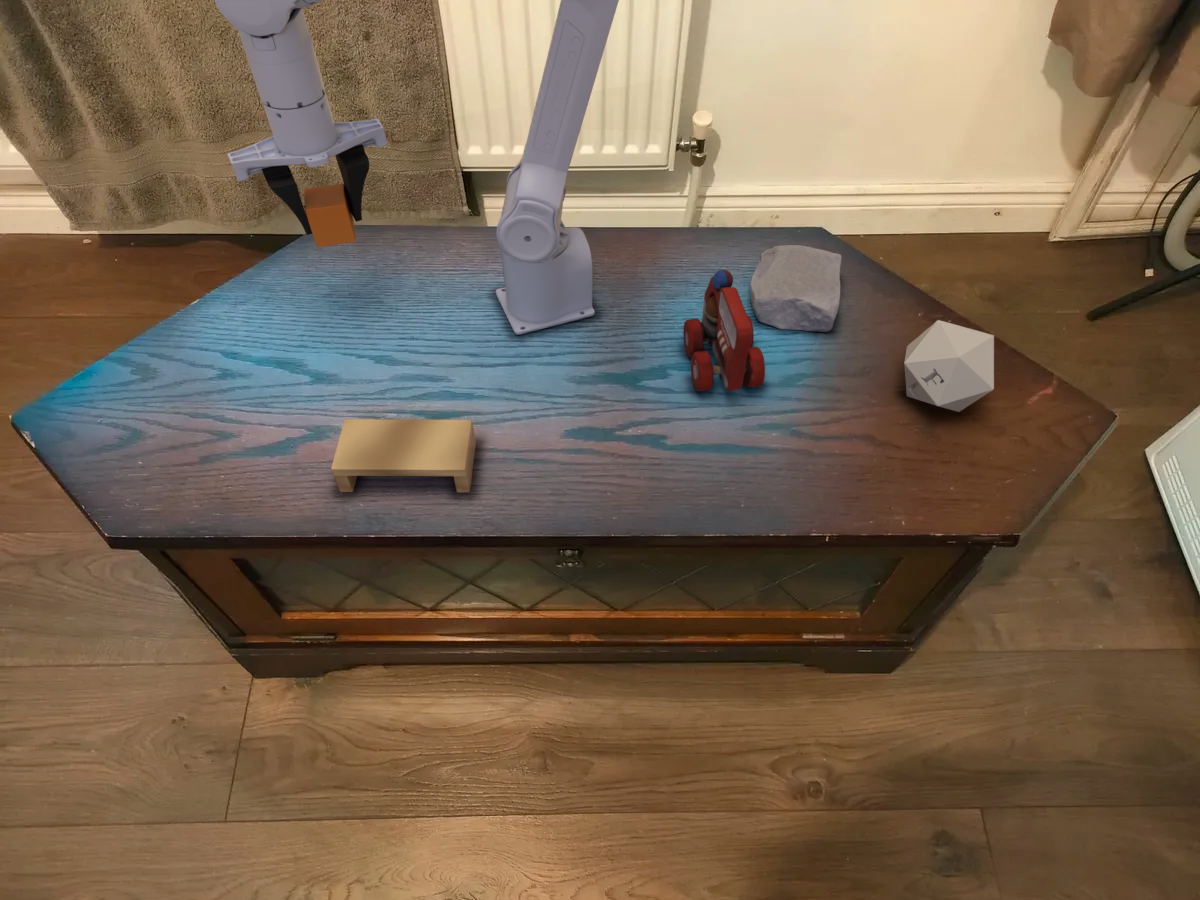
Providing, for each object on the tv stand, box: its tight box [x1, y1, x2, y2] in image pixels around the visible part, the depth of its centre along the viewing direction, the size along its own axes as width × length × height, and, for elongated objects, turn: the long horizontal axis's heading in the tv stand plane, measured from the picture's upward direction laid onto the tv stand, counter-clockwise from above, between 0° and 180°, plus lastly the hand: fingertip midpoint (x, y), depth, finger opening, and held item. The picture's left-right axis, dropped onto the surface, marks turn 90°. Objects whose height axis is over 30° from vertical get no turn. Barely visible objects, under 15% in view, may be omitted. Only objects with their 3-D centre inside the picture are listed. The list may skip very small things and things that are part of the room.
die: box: [903, 319, 995, 413], centre depth 78 cm, size 8×9×10 cm
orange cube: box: [303, 183, 357, 248], centre depth 81 cm, size 4×4×4 cm
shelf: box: [330, 418, 477, 493], centre depth 72 cm, size 12×6×4 cm, turn 90°
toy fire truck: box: [683, 269, 766, 392], centre depth 79 cm, size 7×12×10 cm, turn 6°
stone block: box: [749, 244, 842, 333], centre depth 89 cm, size 12×5×10 cm
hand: (331, 222), depth 81 cm, fingers closed on orange cube, 4 cm apart
